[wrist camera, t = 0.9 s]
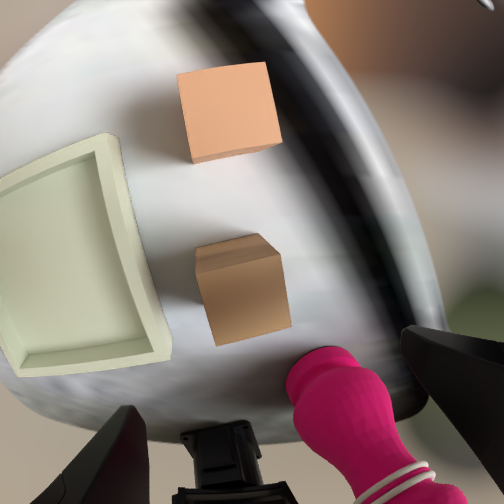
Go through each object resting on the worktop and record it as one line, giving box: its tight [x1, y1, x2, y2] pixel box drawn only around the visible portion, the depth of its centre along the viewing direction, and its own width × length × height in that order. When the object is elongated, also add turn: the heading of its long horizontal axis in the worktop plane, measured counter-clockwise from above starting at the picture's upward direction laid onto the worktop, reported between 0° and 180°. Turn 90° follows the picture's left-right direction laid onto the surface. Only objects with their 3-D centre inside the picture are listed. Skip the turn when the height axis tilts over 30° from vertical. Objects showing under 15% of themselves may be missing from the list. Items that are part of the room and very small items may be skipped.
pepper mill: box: [285, 346, 468, 504], centre depth 12 cm, size 7×7×20 cm
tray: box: [0, 132, 173, 377], centre depth 15 cm, size 14×14×3 cm
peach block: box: [177, 62, 282, 164], centre depth 14 cm, size 4×4×5 cm
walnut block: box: [195, 233, 292, 346], centre depth 16 cm, size 4×4×5 cm
